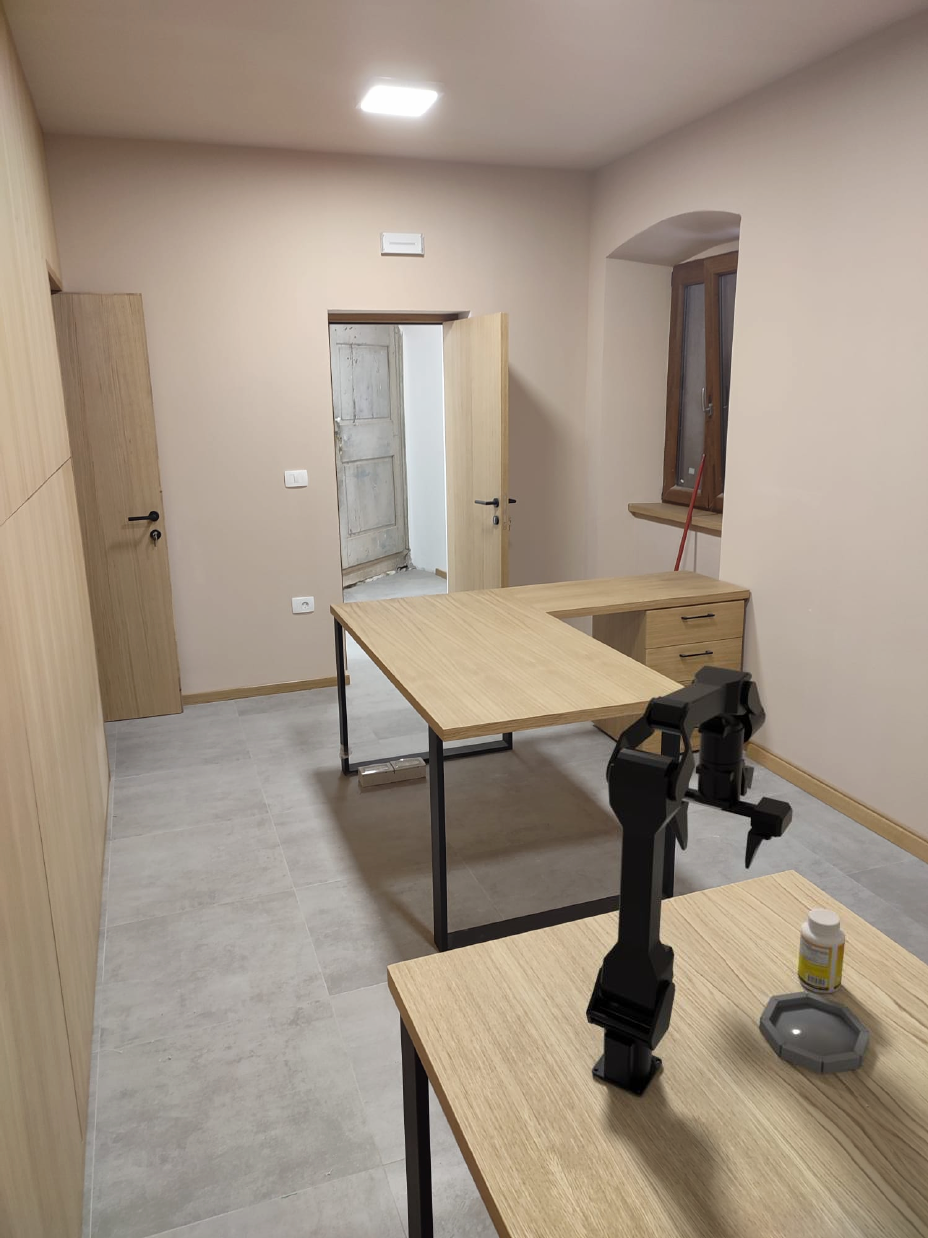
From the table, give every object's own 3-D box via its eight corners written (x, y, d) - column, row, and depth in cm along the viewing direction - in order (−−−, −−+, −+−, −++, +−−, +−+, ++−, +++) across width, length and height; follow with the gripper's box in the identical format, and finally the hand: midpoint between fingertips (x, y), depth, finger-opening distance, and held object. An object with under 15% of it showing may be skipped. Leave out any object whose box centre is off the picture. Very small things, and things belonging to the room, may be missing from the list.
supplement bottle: (827, 967, 121) (833, 903, 119) (848, 994, 116) (855, 927, 113) (789, 970, 121) (794, 906, 118) (808, 997, 115) (814, 930, 113)
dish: (853, 1087, 100) (855, 1076, 100) (750, 1045, 107) (751, 1035, 107) (874, 1026, 110) (875, 1015, 109) (778, 991, 117) (778, 981, 116)
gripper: (807, 750, 119) (799, 851, 123) (678, 724, 130) (674, 818, 134) (783, 780, 111) (776, 888, 115) (647, 749, 121) (645, 849, 125)
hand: (715, 858), depth 122 cm, fingers open, 9 cm apart
